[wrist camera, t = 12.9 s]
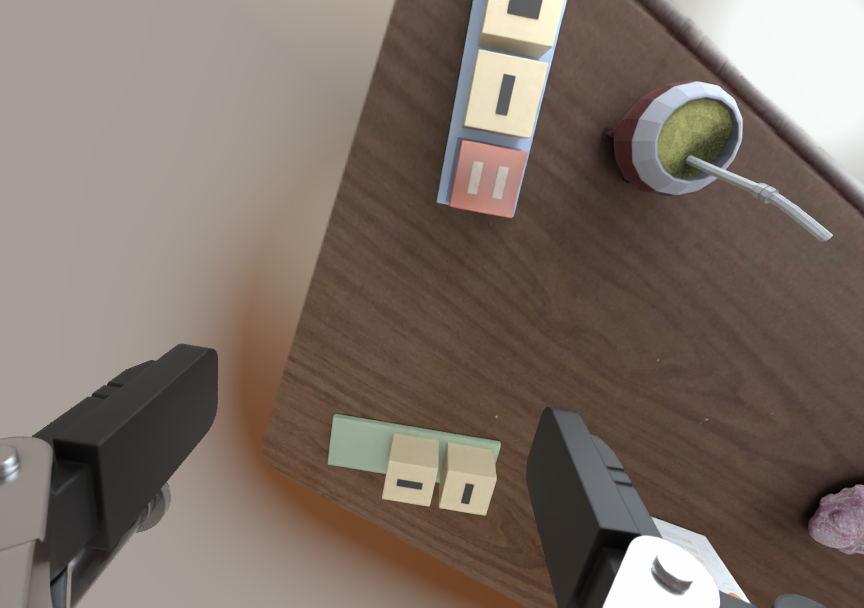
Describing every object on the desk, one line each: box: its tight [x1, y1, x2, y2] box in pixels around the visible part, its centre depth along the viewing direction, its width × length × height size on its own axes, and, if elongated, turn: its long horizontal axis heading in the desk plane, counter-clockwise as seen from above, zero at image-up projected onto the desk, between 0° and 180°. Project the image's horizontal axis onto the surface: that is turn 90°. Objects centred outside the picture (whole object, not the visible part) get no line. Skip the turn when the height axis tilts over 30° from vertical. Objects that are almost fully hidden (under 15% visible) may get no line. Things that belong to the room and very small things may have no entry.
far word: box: [328, 414, 501, 515], centre depth 42 cm, size 17×6×5 cm, turn 80°
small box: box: [651, 517, 750, 603], centre depth 43 cm, size 8×6×10 cm
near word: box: [437, 0, 567, 217], centre depth 30 cm, size 16×6×5 cm, turn 170°
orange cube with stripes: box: [449, 140, 528, 218], centre depth 32 cm, size 5×5×4 cm
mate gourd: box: [602, 80, 832, 242], centre depth 26 cm, size 8×8×15 cm
